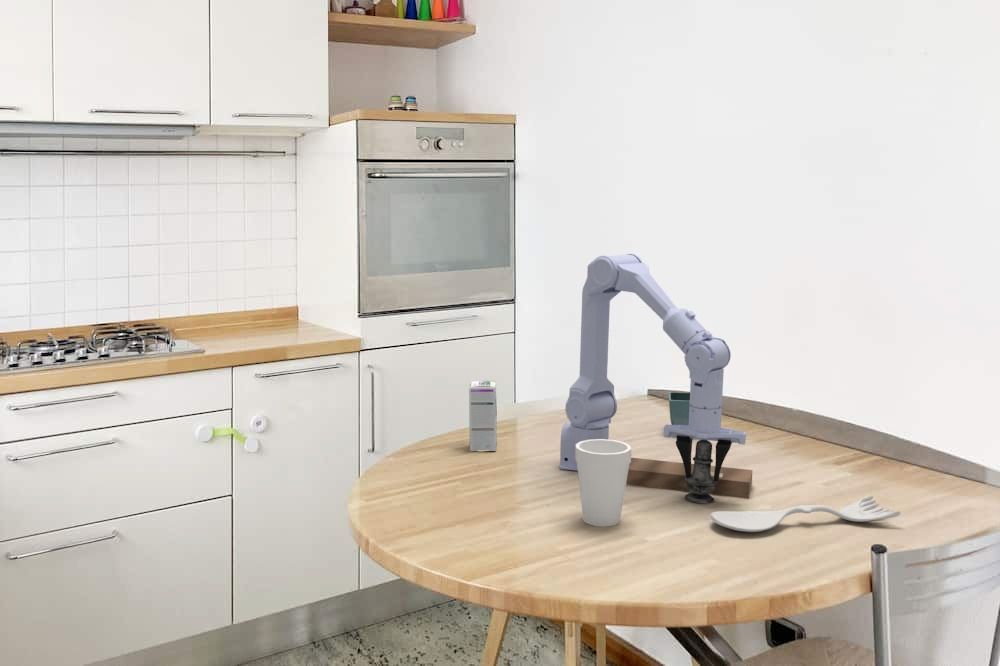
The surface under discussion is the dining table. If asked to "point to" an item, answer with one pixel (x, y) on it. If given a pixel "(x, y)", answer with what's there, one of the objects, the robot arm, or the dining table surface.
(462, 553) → the dining table surface
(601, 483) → the foam cup
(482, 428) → the syrup box
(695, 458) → the salt shaker
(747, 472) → the walnut fence board
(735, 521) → the spoon
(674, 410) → the flower pot
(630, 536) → the dining table surface
